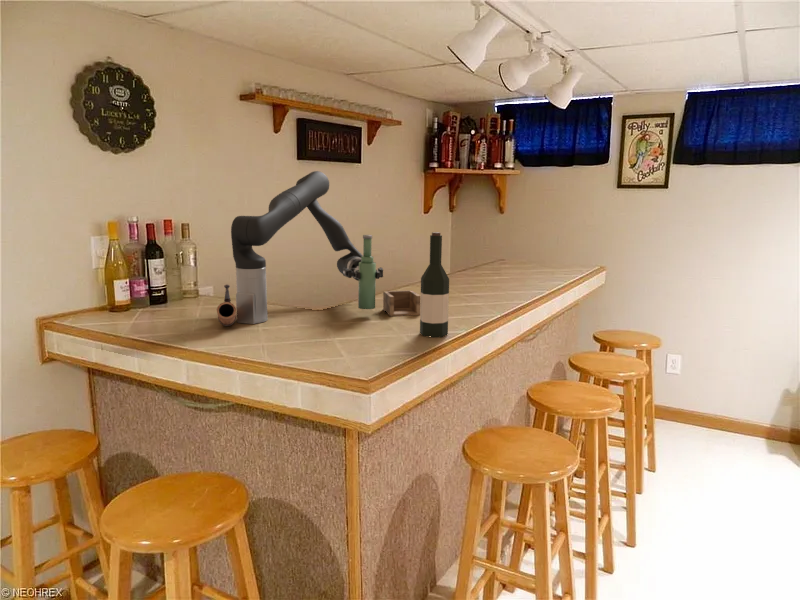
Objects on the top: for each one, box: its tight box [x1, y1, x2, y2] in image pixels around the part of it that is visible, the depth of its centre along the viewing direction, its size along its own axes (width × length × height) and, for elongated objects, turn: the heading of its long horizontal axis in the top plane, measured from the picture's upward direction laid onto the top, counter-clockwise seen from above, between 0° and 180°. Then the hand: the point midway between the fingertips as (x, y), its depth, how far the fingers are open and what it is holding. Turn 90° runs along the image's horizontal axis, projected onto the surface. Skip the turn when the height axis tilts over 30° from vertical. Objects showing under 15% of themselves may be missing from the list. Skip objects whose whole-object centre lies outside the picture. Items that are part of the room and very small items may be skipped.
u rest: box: [382, 290, 421, 317], centre depth 204 cm, size 10×10×7 cm
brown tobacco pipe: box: [216, 284, 237, 327], centre depth 186 cm, size 5×29×10 cm, turn 15°
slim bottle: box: [357, 234, 377, 310], centre depth 195 cm, size 6×6×24 cm
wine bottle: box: [419, 231, 450, 338], centre depth 173 cm, size 8×8×30 cm
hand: (368, 275), depth 192 cm, fingers closed on slim bottle, 5 cm apart
